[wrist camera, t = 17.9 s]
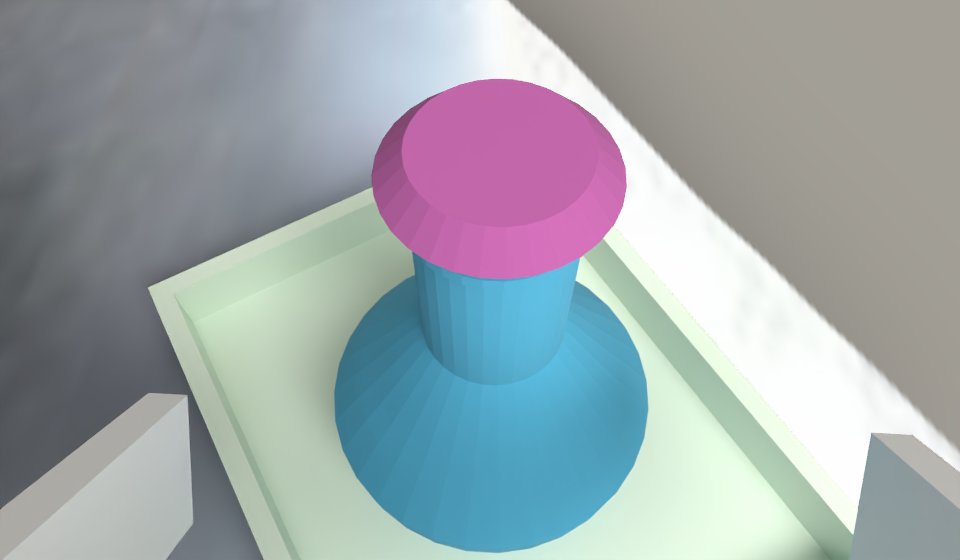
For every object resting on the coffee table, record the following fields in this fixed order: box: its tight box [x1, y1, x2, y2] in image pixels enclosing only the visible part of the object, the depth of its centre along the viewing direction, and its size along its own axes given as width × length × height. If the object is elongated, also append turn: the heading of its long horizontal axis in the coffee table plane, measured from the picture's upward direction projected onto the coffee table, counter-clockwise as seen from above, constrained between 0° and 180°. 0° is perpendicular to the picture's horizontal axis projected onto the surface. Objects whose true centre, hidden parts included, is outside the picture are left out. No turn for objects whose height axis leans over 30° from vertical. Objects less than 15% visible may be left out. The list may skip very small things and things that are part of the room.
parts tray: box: [148, 187, 858, 560], centre depth 25 cm, size 21×16×3 cm
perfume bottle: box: [334, 79, 648, 553], centre depth 19 cm, size 9×9×15 cm
